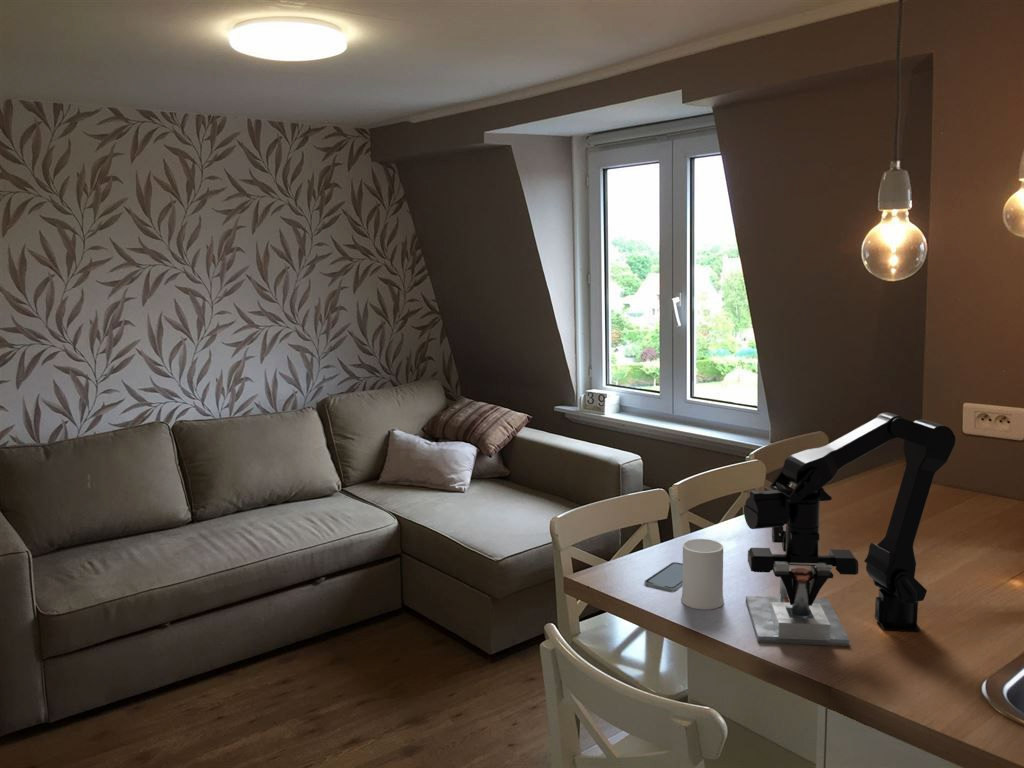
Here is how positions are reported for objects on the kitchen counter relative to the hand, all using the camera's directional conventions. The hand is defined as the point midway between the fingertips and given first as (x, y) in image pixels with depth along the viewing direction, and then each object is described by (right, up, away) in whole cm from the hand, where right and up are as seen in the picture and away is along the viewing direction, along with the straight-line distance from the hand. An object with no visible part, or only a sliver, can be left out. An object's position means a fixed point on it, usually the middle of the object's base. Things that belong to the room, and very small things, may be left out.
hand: (800, 604), depth 157 cm
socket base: (+1, -5, +6) cm, 8 cm away
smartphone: (-18, -2, +30) cm, 35 cm away
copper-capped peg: (0, -2, 0) cm, 2 cm away
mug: (-14, -4, +18) cm, 23 cm away
